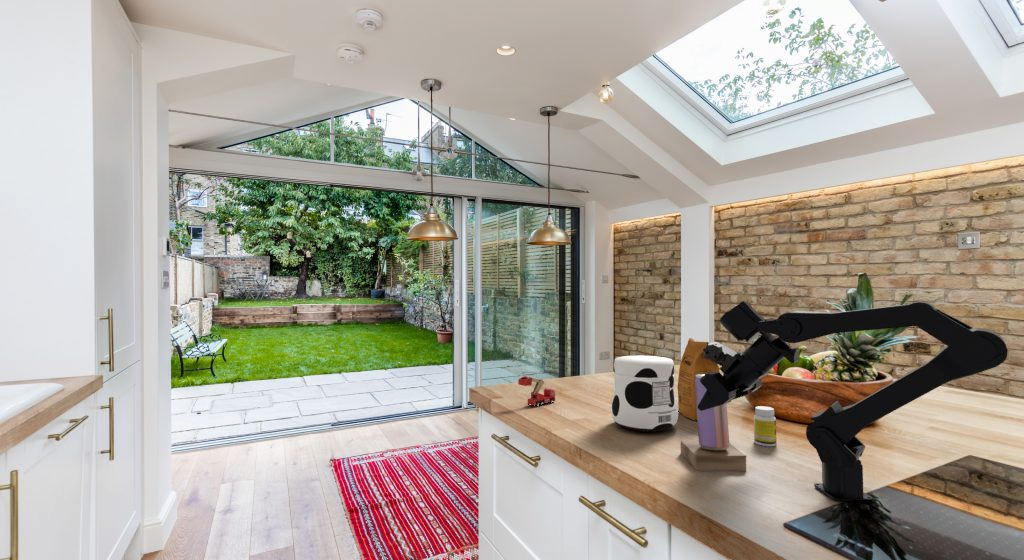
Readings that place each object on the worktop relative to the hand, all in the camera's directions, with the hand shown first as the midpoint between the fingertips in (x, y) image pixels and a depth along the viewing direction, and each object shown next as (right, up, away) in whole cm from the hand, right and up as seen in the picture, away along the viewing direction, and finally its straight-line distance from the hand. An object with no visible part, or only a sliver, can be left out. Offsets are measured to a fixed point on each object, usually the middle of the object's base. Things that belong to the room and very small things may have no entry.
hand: (704, 406), depth 104 cm
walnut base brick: (+1, -11, -1) cm, 12 cm away
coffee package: (+12, -12, +36) cm, 40 cm away
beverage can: (+1, -8, -2) cm, 9 cm away
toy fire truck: (-33, -13, +50) cm, 62 cm away
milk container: (-6, -12, +25) cm, 29 cm away
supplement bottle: (+18, -12, +10) cm, 24 cm away
